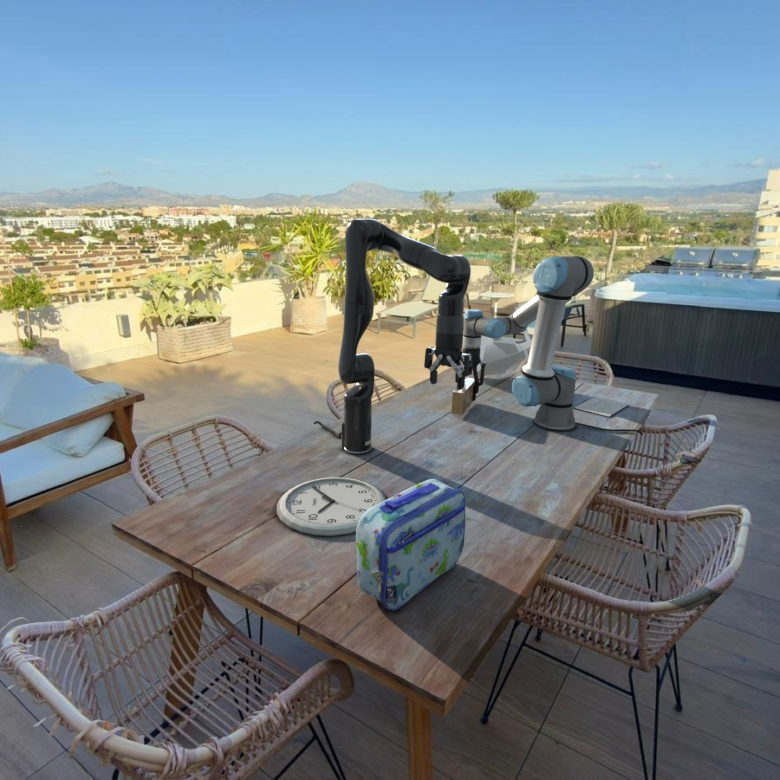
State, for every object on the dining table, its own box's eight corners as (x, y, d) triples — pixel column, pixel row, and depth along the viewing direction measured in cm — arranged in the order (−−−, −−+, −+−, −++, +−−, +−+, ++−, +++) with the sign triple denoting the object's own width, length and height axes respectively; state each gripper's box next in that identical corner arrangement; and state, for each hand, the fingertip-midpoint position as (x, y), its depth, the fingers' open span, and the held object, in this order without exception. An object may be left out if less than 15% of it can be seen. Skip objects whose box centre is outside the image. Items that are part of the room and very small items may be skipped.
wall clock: (392, 527, 129) (268, 531, 127) (391, 533, 130) (269, 537, 127) (383, 473, 158) (282, 475, 155) (383, 478, 158) (282, 480, 156)
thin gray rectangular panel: (608, 416, 214) (573, 407, 224) (608, 416, 214) (573, 408, 224) (628, 404, 229) (594, 396, 238) (628, 405, 229) (594, 397, 238)
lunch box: (385, 624, 100) (387, 528, 94) (349, 596, 108) (348, 506, 101) (468, 566, 118) (474, 482, 112) (432, 545, 125) (436, 466, 119)
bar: (465, 397, 231) (466, 377, 228) (475, 398, 229) (476, 378, 227) (451, 413, 211) (452, 391, 208) (461, 415, 209) (463, 393, 206)
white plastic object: (486, 418, 266) (465, 396, 241) (467, 346, 288) (447, 318, 263) (557, 395, 254) (543, 368, 229) (531, 321, 276) (517, 290, 251)
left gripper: (420, 328, 145) (418, 384, 150) (465, 335, 137) (462, 394, 142) (434, 325, 151) (432, 379, 155) (479, 331, 143) (475, 388, 147)
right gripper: (448, 346, 219) (446, 399, 226) (490, 350, 213) (486, 404, 220) (453, 343, 226) (451, 394, 233) (494, 346, 220) (490, 399, 227)
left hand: (446, 386), depth 149 cm, fingers open, 8 cm apart
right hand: (468, 399), depth 226 cm, fingers closed on bar, 4 cm apart
